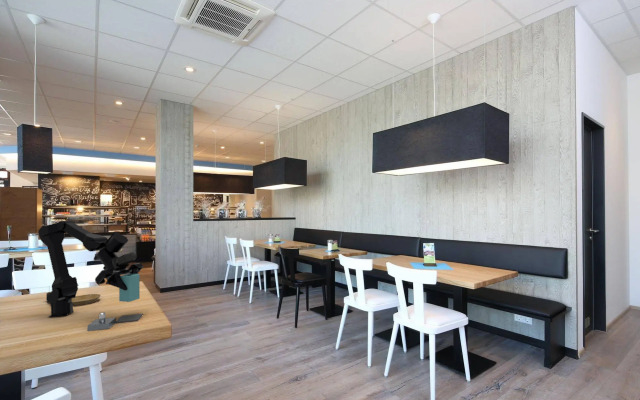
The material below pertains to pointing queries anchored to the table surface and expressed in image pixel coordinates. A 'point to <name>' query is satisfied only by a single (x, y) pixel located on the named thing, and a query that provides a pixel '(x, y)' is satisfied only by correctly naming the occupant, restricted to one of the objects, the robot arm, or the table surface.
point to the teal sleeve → (130, 288)
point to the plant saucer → (85, 299)
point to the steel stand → (101, 323)
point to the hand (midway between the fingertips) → (132, 288)
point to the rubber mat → (129, 318)
